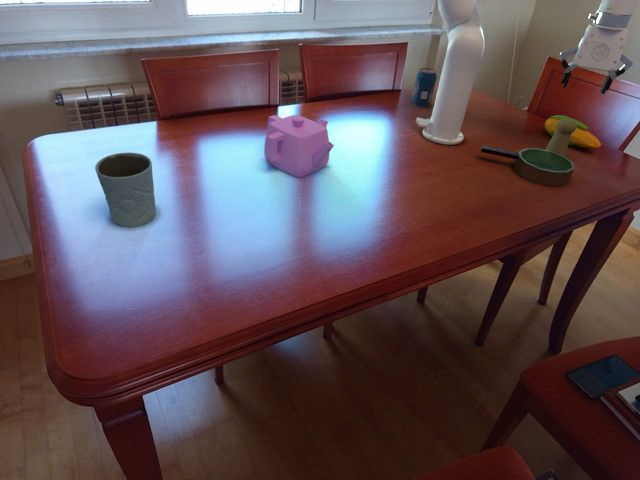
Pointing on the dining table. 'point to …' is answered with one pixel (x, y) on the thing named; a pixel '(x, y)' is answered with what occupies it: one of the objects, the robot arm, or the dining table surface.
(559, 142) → the cork
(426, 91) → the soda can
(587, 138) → the corn
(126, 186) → the gray embossed cup
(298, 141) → the teakettle
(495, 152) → the pan
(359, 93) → the dining table surface
